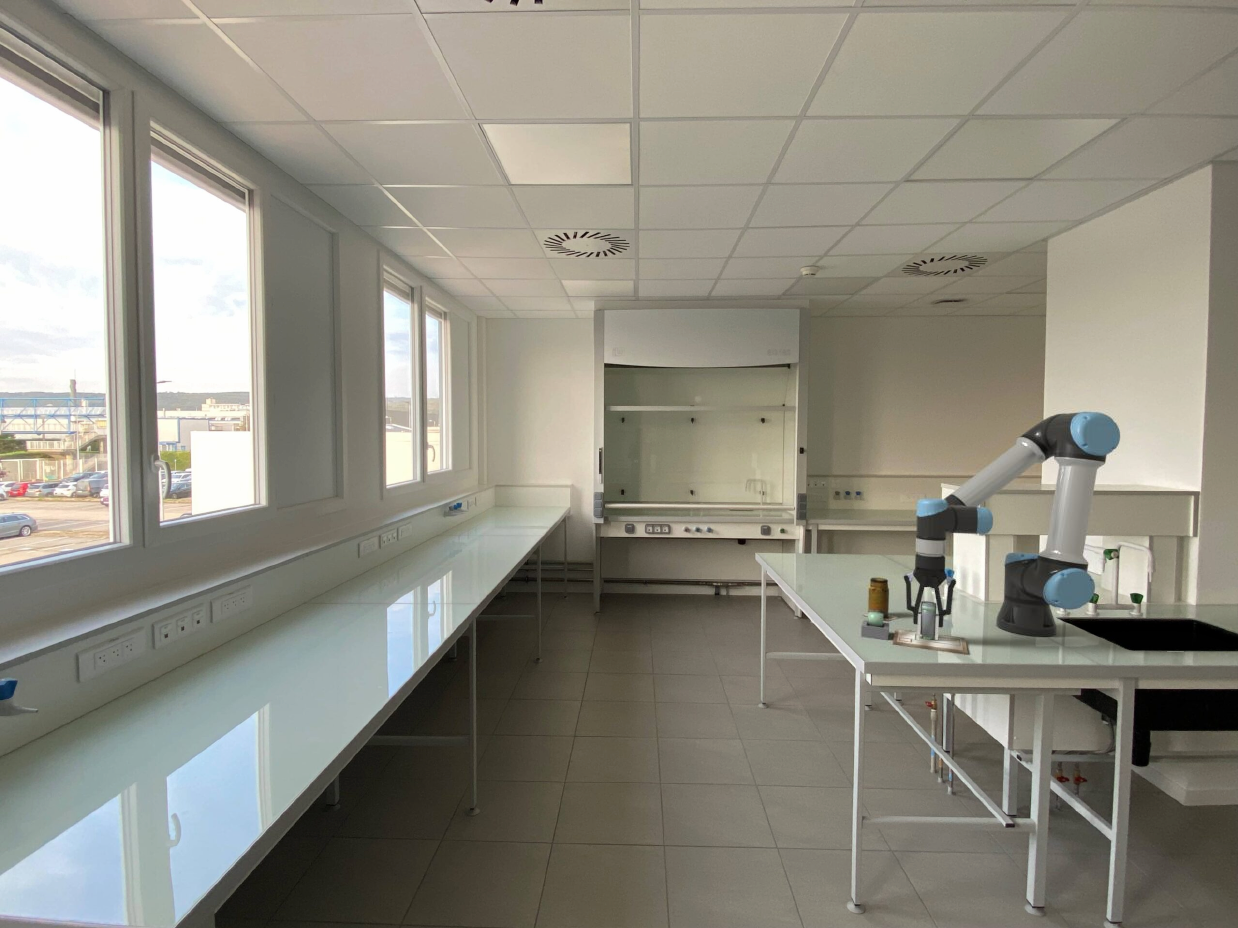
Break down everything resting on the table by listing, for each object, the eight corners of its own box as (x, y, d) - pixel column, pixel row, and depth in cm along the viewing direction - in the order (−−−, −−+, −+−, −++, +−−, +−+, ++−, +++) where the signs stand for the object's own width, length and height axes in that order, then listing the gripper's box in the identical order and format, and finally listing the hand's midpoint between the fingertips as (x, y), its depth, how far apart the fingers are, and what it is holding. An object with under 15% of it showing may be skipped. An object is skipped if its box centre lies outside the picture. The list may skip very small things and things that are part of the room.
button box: (889, 633, 185) (889, 623, 185) (887, 639, 178) (888, 629, 178) (863, 629, 188) (863, 619, 188) (861, 636, 182) (861, 625, 181)
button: (883, 622, 184) (883, 612, 184) (882, 626, 180) (882, 616, 180) (868, 621, 186) (869, 610, 186) (867, 624, 182) (867, 614, 182)
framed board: (964, 639, 179) (964, 637, 179) (967, 654, 167) (967, 651, 167) (895, 630, 187) (895, 628, 187) (892, 644, 175) (893, 641, 175)
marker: (935, 637, 179) (936, 602, 179) (935, 641, 175) (936, 605, 175) (919, 635, 181) (921, 600, 180) (919, 639, 177) (920, 603, 177)
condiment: (873, 611, 208) (874, 575, 208) (899, 617, 202) (900, 580, 202) (862, 615, 204) (863, 578, 203) (887, 621, 197) (888, 583, 197)
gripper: (963, 554, 177) (960, 637, 178) (898, 549, 184) (895, 629, 185) (965, 559, 170) (962, 645, 171) (896, 553, 177) (894, 636, 178)
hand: (927, 636), depth 178 cm, fingers closed on marker, 4 cm apart
